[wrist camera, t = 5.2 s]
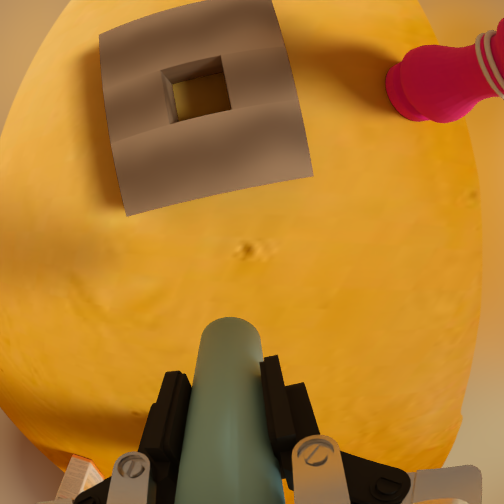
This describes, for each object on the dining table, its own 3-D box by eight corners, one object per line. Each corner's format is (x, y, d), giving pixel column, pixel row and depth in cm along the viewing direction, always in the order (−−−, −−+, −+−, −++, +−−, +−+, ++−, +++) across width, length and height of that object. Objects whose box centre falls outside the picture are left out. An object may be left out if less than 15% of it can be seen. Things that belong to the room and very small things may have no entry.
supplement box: (71, 452, 35) (52, 500, 23) (92, 459, 35) (74, 510, 23) (86, 472, 38) (71, 516, 25) (105, 477, 38) (91, 524, 25)
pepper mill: (366, 84, 21) (542, 8, 2) (403, 48, 20) (548, -18, 1) (415, 140, 23) (599, 147, 4) (446, 101, 21) (601, 86, 2)
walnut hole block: (301, 174, 23) (313, 176, 20) (143, 208, 24) (126, 216, 20) (264, 13, 19) (268, -8, 15) (116, 49, 19) (98, 34, 15)
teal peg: (265, 360, 14) (298, 566, 4) (209, 369, 14) (193, 570, 4) (254, 311, 13) (288, 553, 3) (193, 322, 13) (145, 551, 3)
